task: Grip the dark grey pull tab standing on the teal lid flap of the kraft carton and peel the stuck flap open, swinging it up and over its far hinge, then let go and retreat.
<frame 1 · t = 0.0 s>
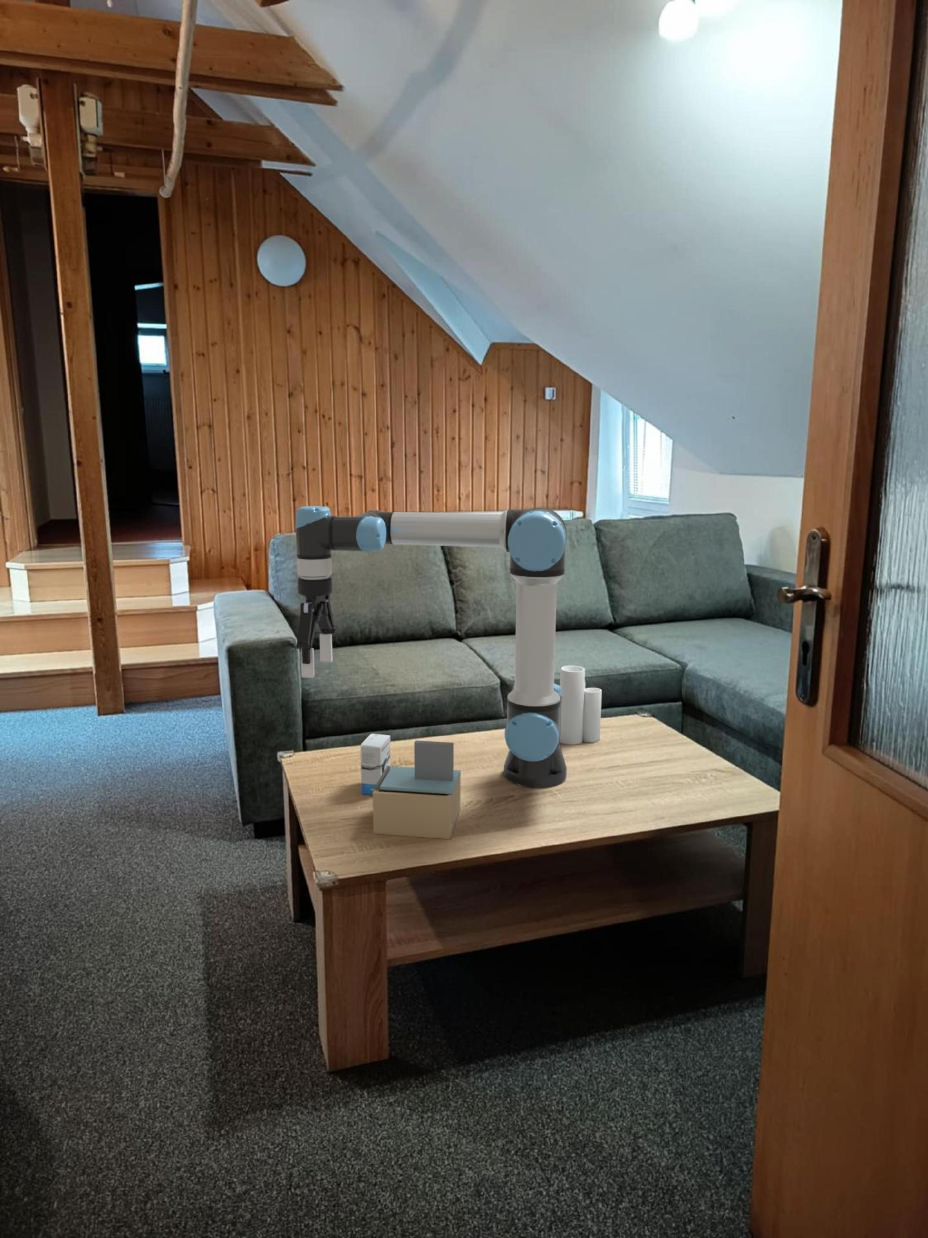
hand: (317, 669, 194), 28 cm above the table, fingers open, 13 cm apart
ink box: (376, 788, 198), on the table
carton: (418, 821, 181), on the table
lid flap: (418, 761, 178), point 13 cm above the table, hinge at 0.0°
vase: (577, 740, 231), on the table
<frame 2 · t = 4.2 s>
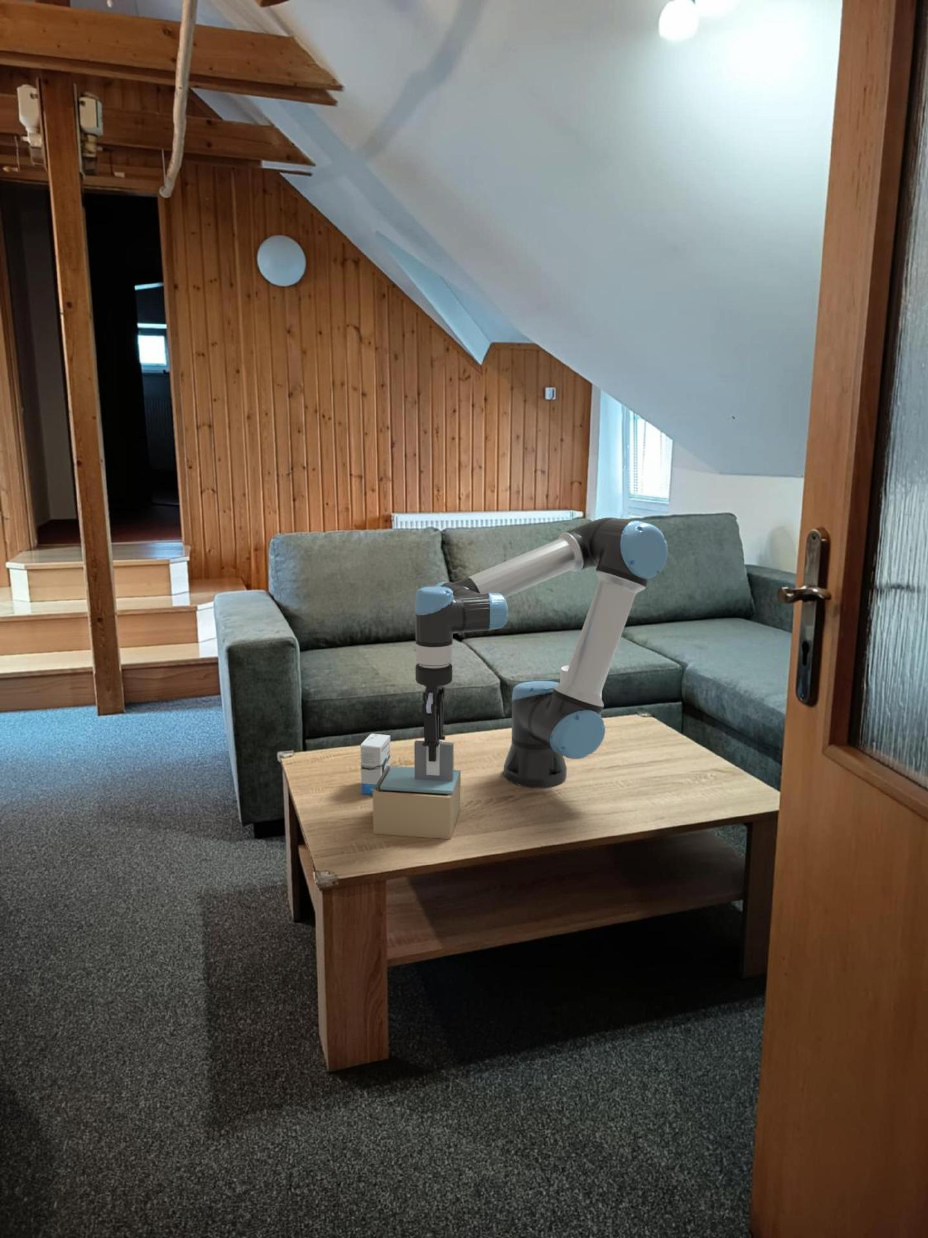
hand: (434, 772, 178), 11 cm above the table, fingers closed on lid flap, 1 cm apart
lid flap: (418, 761, 178), point 13 cm above the table, hinge at 0.0°, touching gripper
everything else where it was.
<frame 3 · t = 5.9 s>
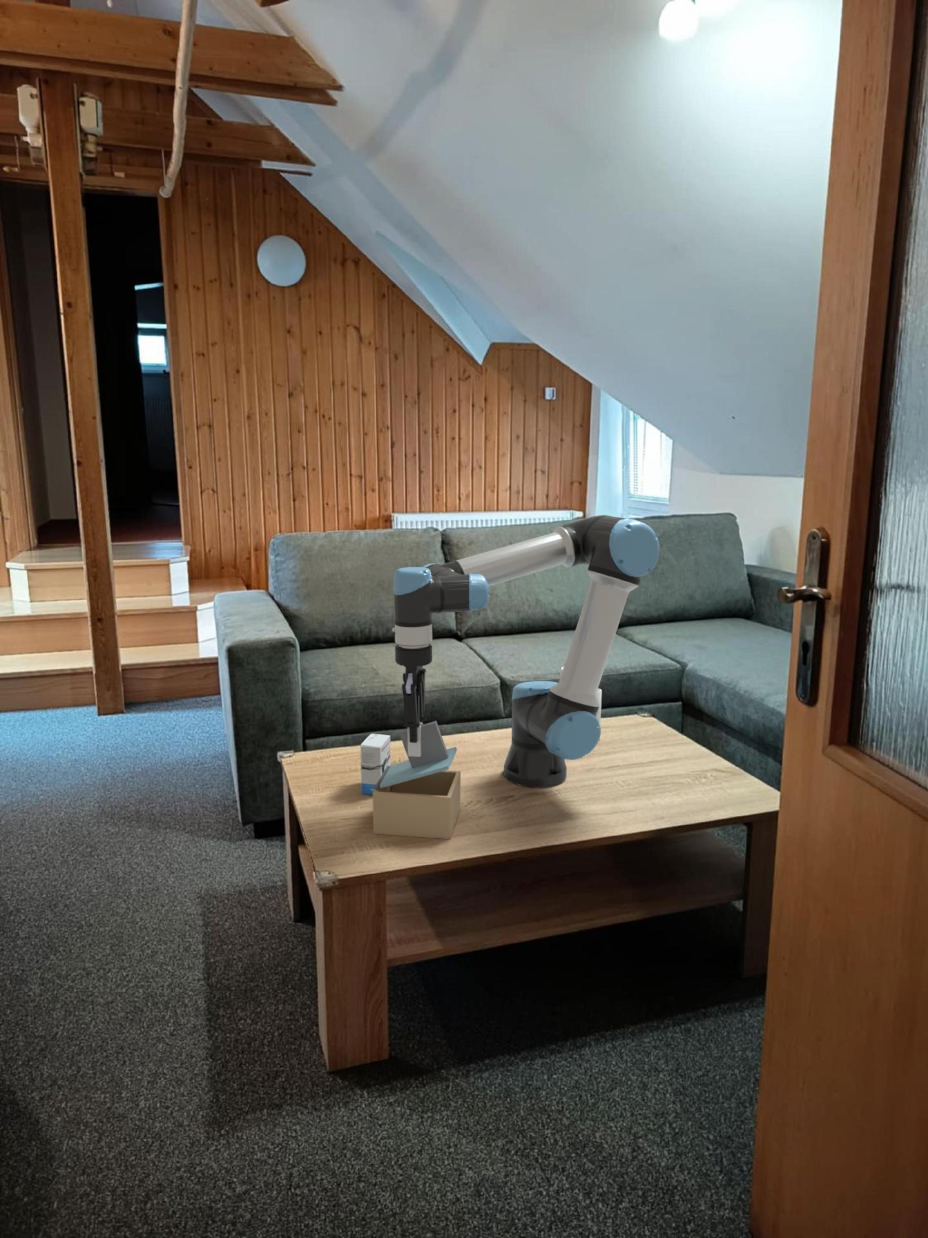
hand: (415, 753, 178), 15 cm above the table, fingers closed on lid flap, 1 cm apart
lid flap: (410, 750, 178), point 16 cm above the table, hinge at 19.5°, touching gripper
everything else where it was.
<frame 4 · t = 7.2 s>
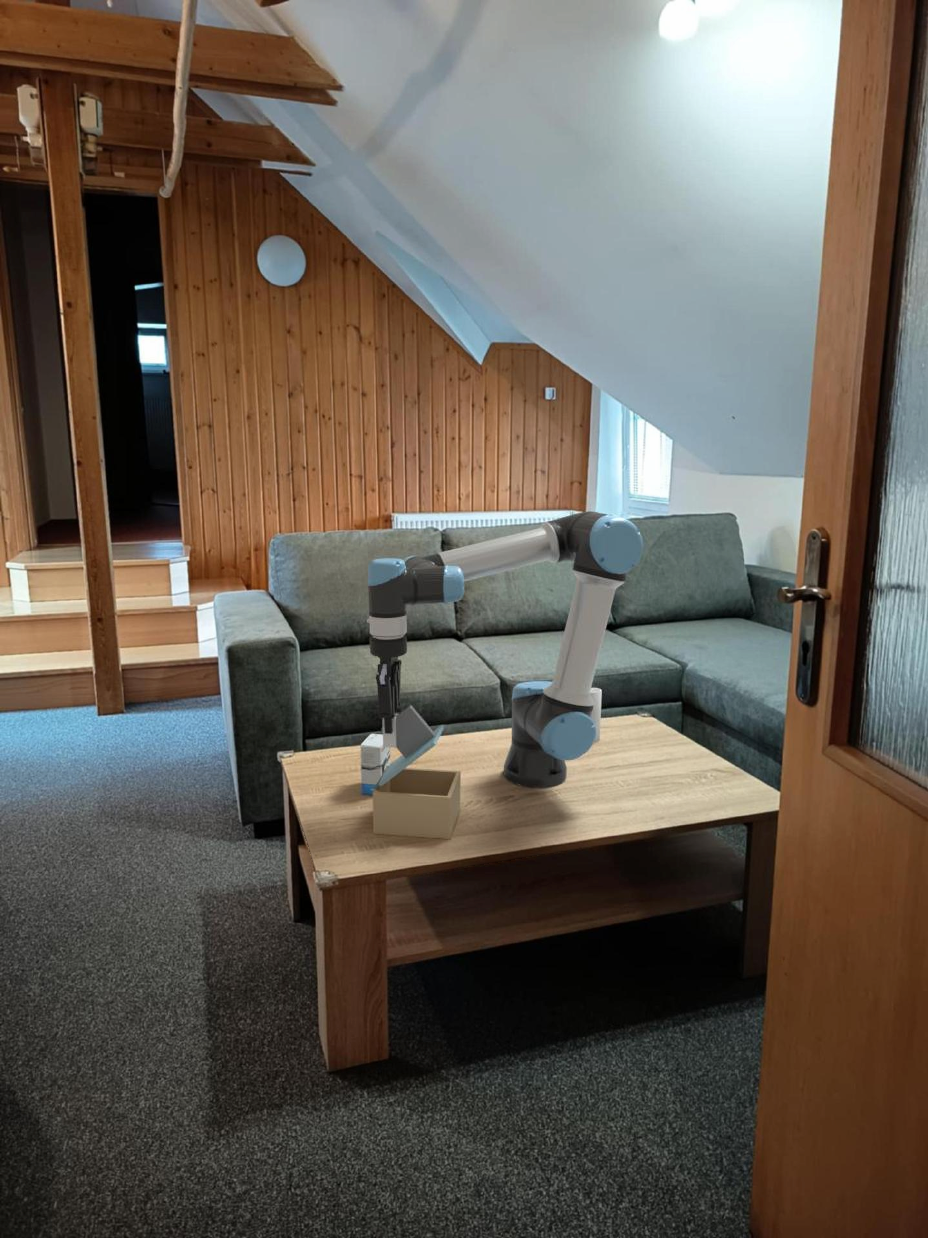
hand: (391, 744, 178), 17 cm above the table, fingers closed on lid flap, 1 cm apart
lid flap: (397, 742, 178), point 18 cm above the table, hinge at 40.2°, touching gripper
everything else where it was.
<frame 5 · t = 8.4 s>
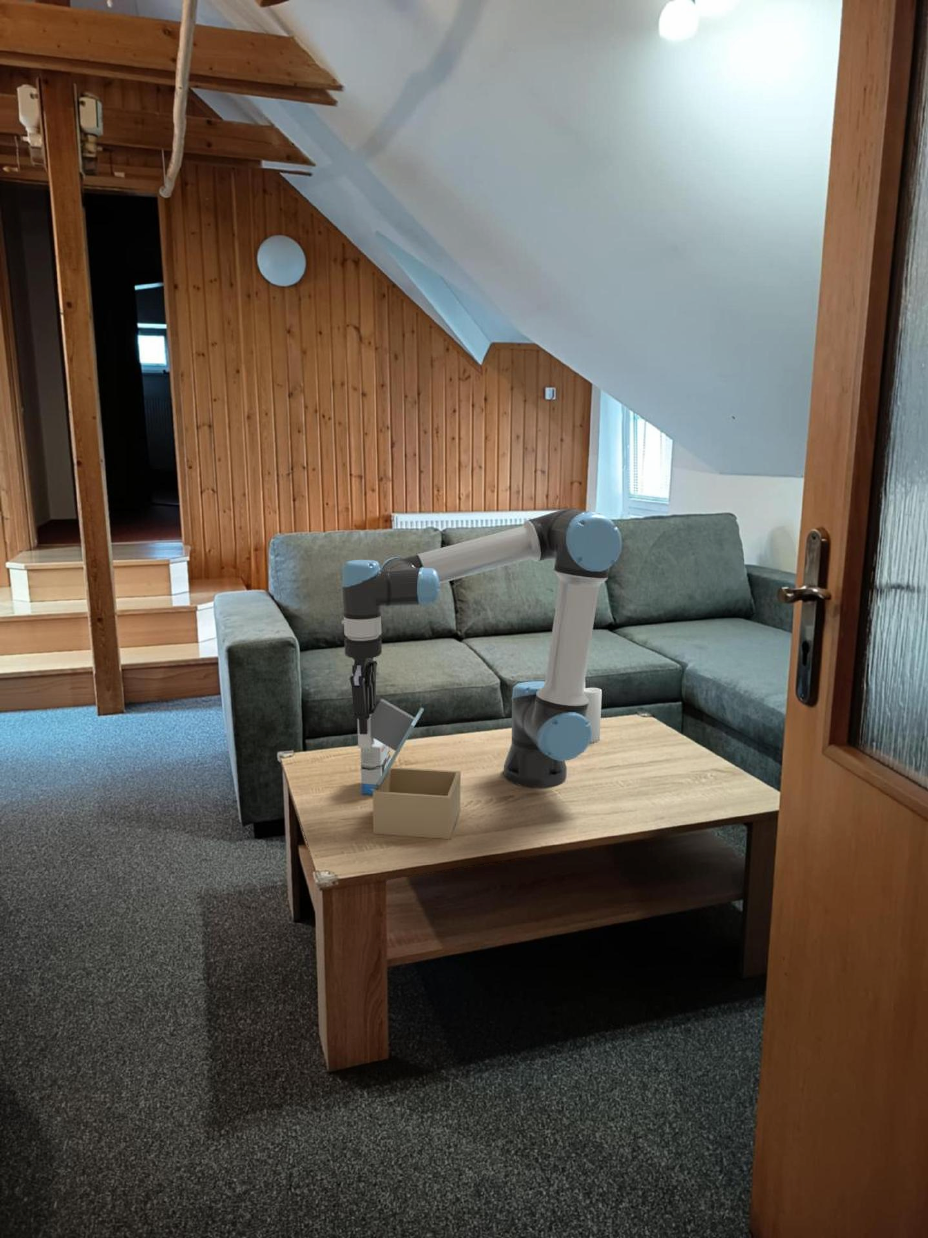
hand: (366, 745, 179), 16 cm above the table, fingers closed on lid flap, 1 cm apart
lid flap: (383, 738, 178), point 18 cm above the table, hinge at 61.2°, touching gripper
everything else where it was.
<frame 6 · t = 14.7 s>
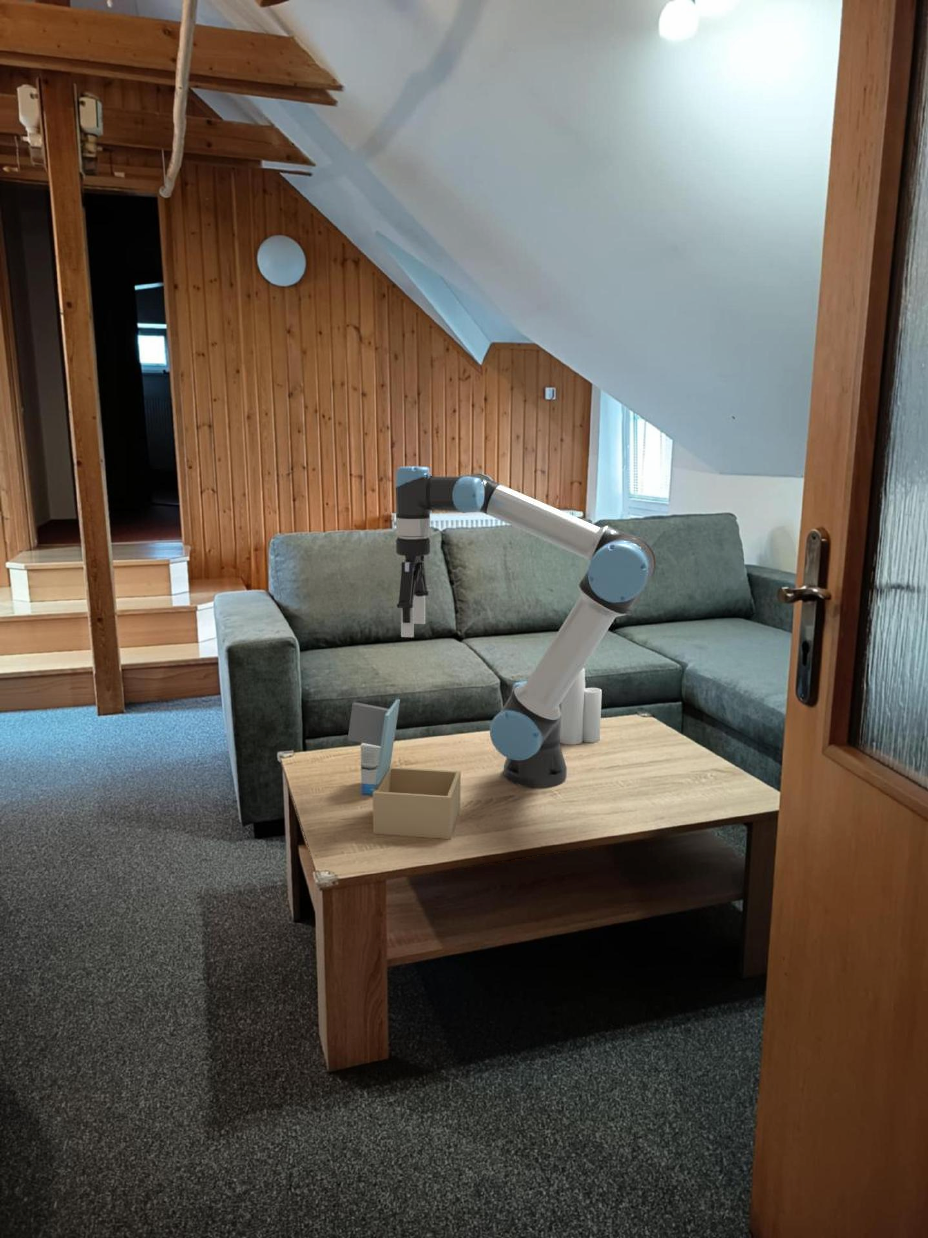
hand: (413, 630, 194), 37 cm above the table, fingers open, 13 cm apart
lid flap: (369, 739, 179), point 18 cm above the table, hinge at 81.4°
everything else where it was.
at the end: lid flap at +81° (first picture: +0°); the gripper is holding nothing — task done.
